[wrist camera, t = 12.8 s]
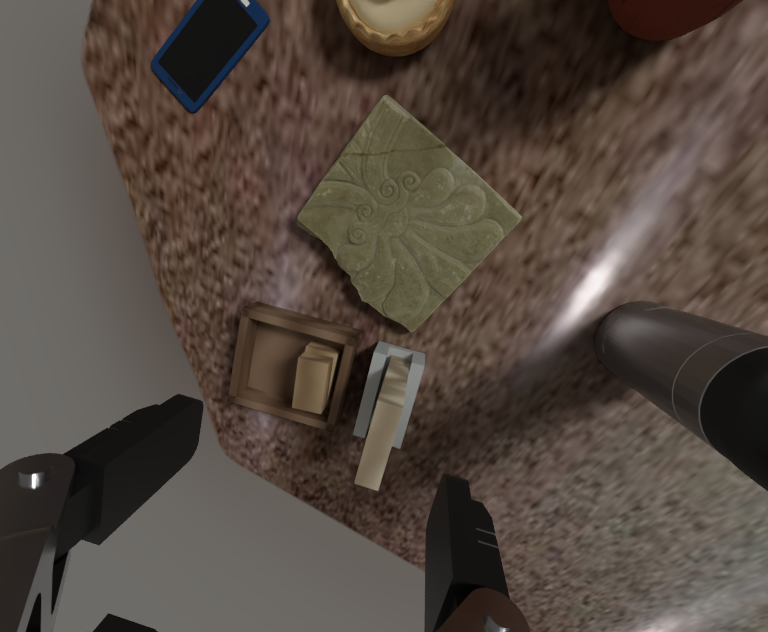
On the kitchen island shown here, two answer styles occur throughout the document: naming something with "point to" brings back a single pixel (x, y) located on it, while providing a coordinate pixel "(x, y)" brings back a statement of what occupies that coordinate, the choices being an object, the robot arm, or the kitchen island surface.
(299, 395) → the oak offcut upper
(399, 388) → the birch sheet
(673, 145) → the kitchen island surface
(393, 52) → the pastry
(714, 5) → the potted plant
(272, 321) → the wooden tray
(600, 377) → the kitchen island surface
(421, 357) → the slot stand
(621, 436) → the kitchen island surface
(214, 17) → the cell phone
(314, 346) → the oak offcut lower
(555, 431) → the kitchen island surface
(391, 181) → the decorative tile
